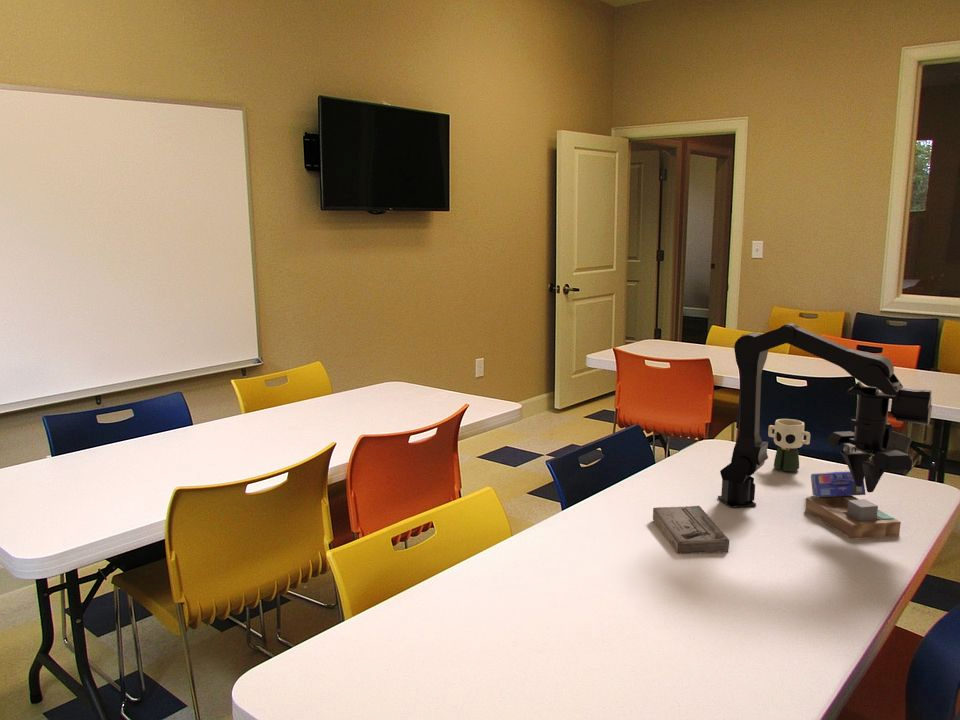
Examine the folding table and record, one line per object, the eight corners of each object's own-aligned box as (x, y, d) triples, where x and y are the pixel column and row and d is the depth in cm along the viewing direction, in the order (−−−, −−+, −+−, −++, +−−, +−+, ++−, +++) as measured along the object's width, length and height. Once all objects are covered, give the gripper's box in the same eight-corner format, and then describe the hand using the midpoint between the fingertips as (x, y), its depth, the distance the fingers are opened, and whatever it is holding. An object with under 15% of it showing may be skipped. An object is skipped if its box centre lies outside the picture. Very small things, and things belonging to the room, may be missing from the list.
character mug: (760, 468, 197) (763, 420, 195) (771, 462, 202) (774, 415, 200) (801, 477, 189) (805, 428, 187) (812, 471, 194) (816, 423, 192)
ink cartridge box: (854, 469, 175) (865, 471, 161) (858, 493, 174) (869, 497, 160) (809, 472, 178) (816, 474, 164) (812, 495, 177) (819, 499, 163)
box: (698, 517, 162) (699, 504, 162) (730, 553, 146) (730, 539, 145) (650, 520, 162) (651, 506, 161) (676, 556, 145) (677, 541, 144)
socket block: (851, 539, 152) (853, 524, 151) (805, 510, 167) (806, 496, 167) (899, 535, 154) (900, 520, 153) (849, 507, 169) (850, 493, 169)
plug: (858, 534, 154) (861, 507, 153) (845, 527, 158) (848, 500, 157) (875, 533, 155) (878, 505, 154) (862, 525, 159) (864, 499, 158)
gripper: (941, 427, 145) (932, 503, 147) (875, 405, 163) (868, 473, 165) (890, 429, 143) (882, 506, 145) (829, 407, 161) (823, 475, 164)
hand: (864, 489), depth 155 cm, fingers open, 3 cm apart
